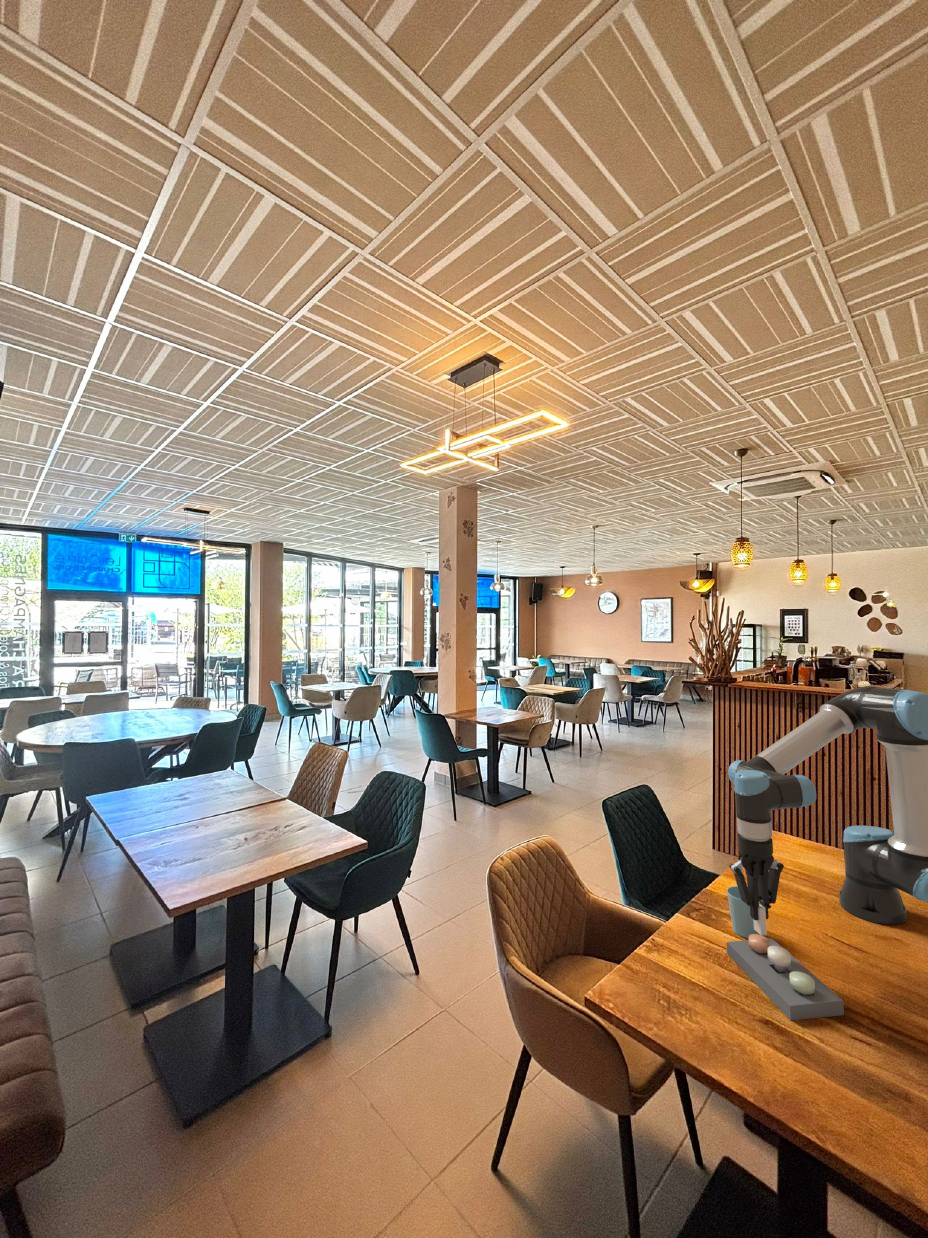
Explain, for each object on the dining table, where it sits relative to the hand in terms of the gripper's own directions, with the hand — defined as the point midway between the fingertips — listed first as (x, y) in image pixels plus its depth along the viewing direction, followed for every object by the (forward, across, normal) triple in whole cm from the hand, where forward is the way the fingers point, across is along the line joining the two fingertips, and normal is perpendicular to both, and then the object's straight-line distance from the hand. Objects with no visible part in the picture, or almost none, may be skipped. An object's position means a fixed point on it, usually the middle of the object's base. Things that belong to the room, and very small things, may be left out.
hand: (760, 932), depth 124 cm
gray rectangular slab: (+7, 0, +7) cm, 10 cm away
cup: (+8, -4, -12) cm, 15 cm away
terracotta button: (+6, 0, 0) cm, 6 cm away
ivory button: (+4, 0, +7) cm, 8 cm away
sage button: (+6, 0, +14) cm, 15 cm away
